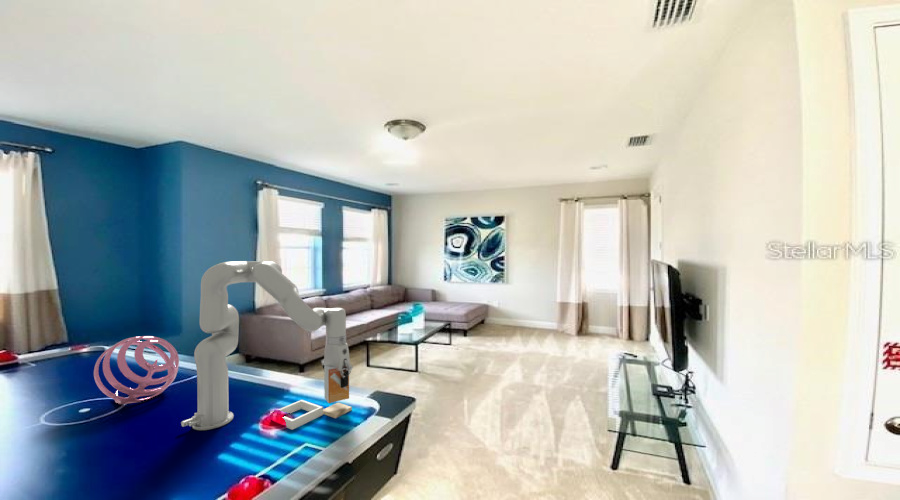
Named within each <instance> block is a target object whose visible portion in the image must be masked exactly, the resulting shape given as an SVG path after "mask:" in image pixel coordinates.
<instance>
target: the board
mask: <svg viewBox="0 0 900 500" xmlns="http://www.w3.org/2000/svg"><path fill="white" fill-rule="evenodd" d="M352 409H353V407H352V406H349V405H347V404H344V403H341V402H336V403H333V404H332V405H329V406H328V407H326V408H323V415H325V416H328V417H331V418H333V419H337V418H339V417H341V416H343V415H345V414H347V413H349V412H350V411H352Z"/></svg>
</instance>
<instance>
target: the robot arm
mask: <svg viewBox="0 0 900 500" xmlns="http://www.w3.org/2000/svg"><path fill="white" fill-rule="evenodd" d="M240 283H256V284H257V285H258V286H259V287H261V288H262V290H264V291H265V292H267V294H269V295H270V296H271V297H272V298H273V299H274V300H275V301H277V303H278V304H279V305H280V307H281V308H282V310H283V311H284V312H285V313H286V315H287V316H288V317H289V318H290V319H291V320H292V321H293V322H295V324H297V325H298V327H300V328H301V329H303V330H305V331H306V332H312V333H313V332H315V331H317V330H319V329H320V328H321V327H324V326H325V345H324V355H323V357H324V358H323V359H321V360H320V363H321V365H322V369H323V370H324V365H326V366H330V367H334V368H336V369H337V371H340V374H341V376H342V377H341V388H343V387H346V386H348V376H349V377H350V375H351V372H352V370H353V369H354V368H353V365H352V364H351V362H350V361H351V358H350V349H349V346H348V345H349V344H348V343H347V319H346V318H347V317H346V316H347V315H346V313H347V311H346V309H345V308H342V307H332V308H326V307H313V308H311V307H310V306H309V305H308V304H307V303H306V302H305V301H304V300H303V298H302V297H301V295H300V293H299V289H298V287H297V285H296V284H295V283H293V281H291V280H290V279H289V278H288V277H287V276H286V275H284V274H283V269H282V267H281V265H279V263H277V262H275V261H267V260H266V261H258V260H257V261H251V260H249V261H248V260H239V261H236V260H235V261H233V260H232V261H224V262H220V263H218V264H215V265H212V266H210V267H209V268H208V269H206V271H205V272H204V273H203V275H202V276H201V281H200V301H199V302H200V304H199V327H200V330H202V332H204V333H206V334H211V335H210V336H208V337H206V338H204V339H202V340H201V341H200V342H199V343H198V344H197V345H196V347H195V349H194V355H193V358H194V363H195V367H196V384H197V385H196V387H197V390H196V391H197V393H196V394H197V400H196V402H197V412H194V415H193V416H192V417H191V418H188V419H184V420H182V421H181V422H180V424H181V425H180V426H181V427H183V428H184V427H186V426H187V427H188V426H189V427H192V429H193V430H195V431H208V430H213V429H216V428H220V427H223V426H225V425H227V424H229V423H230V422H232V420H233V419H234V413H233V412H232V411H230V410H229V407H230V406H229V405H230V404H229V402H230V401H229V367H228V364H227V361H226V357H227V356H229V355H230V354H232V353H234V351H235V350H236V349H237V348H238V344H239V328H240V327H239V325H240V317H239V311H238V309H237V308H236V307H235V306H233V304H229V294H228V293H229V292H228V289H227V288H228V286H230V285H234V284H240ZM343 366H345V368H343V369H342V367H343ZM344 370H345V373H344V372H343V371H344Z"/></svg>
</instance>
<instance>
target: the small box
mask: <svg viewBox="0 0 900 500" xmlns="http://www.w3.org/2000/svg"><path fill="white" fill-rule="evenodd" d="M343 368H345V366H343V367H342V369H343ZM343 372H344V373H345V370H344V371H343ZM323 375H324V377H323V378H324V382H323V383H324V390H323V392H324V399H325V400H326V401H327V403H328V404H331V403H335V402H336V403H337V402H340V401H344V400H348V399H350V375H349V376H348V386H346V387H343V388H341V377H342V376H341V374H340V371H337V369H336V368H334V367H330V366H326V365H324V369H323Z"/></svg>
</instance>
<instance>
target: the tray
mask: <svg viewBox="0 0 900 500" xmlns="http://www.w3.org/2000/svg"><path fill="white" fill-rule="evenodd" d="M323 409H324V406H322V405H319V404H317V403H316V404H315V403H313V402H309V401H306V400H304V399H300V400H298V401H296V402H293V403H291V404H288V405H285V406H283V407H280V408H277V410H280V411H283V412H287V413H290V414H292V413H294V412H297V411H299V410H304V411H307V412H306V413H304V414H301V415H299V416H297V417H295V418H292V417H291V418H290V417H288V416H287V415H286V416H284V417H282V418H283V419H284V420H285V422H286V426H287V427H286V428H287V429H289V430H294V429H297V428H299V427H301V426H303V425H305V424H307V423H309V422H311V421H314V420H315V419H317V418H320V417H321V416H323V415H324V414H323ZM272 412H273V411H271V412H270V414H271V413H272Z"/></svg>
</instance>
